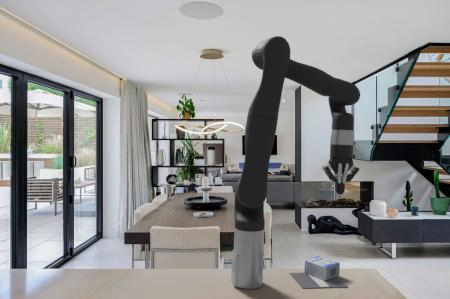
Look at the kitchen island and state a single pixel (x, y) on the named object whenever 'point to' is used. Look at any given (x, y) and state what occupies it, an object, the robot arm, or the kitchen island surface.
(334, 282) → the mat
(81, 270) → the kitchen island surface
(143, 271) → the kitchen island surface
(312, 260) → the medicine box
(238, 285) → the robot arm
